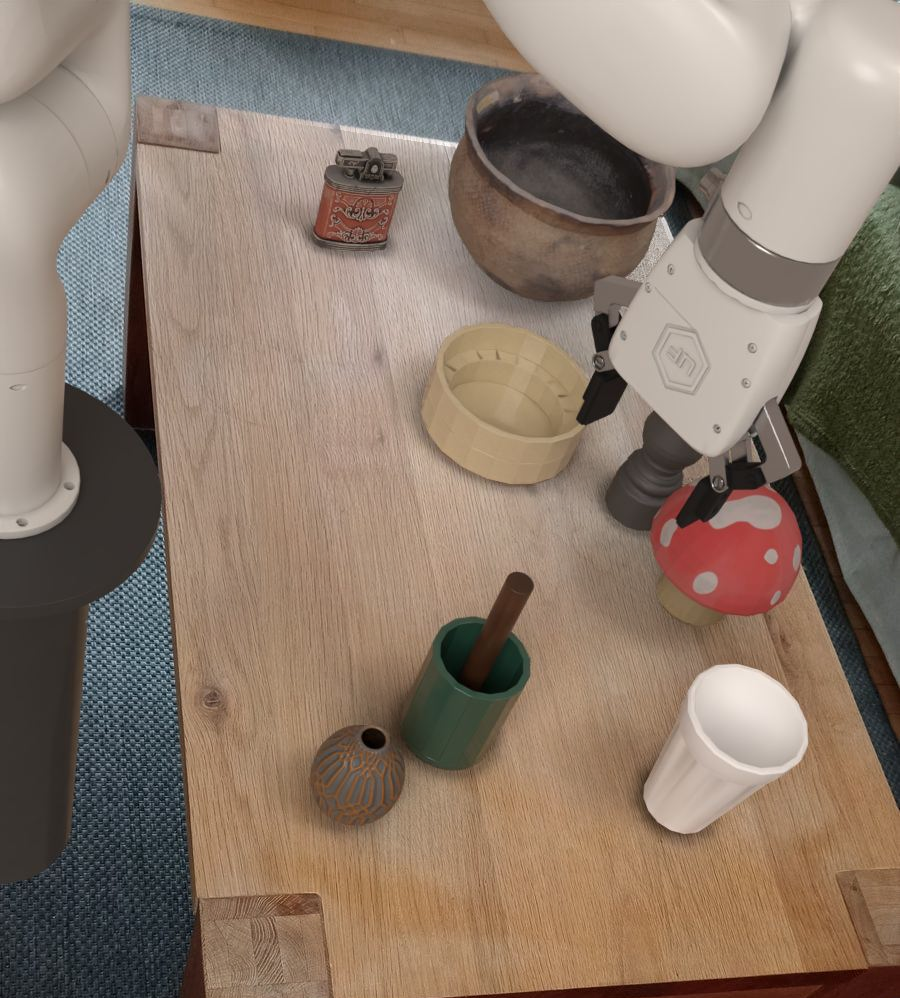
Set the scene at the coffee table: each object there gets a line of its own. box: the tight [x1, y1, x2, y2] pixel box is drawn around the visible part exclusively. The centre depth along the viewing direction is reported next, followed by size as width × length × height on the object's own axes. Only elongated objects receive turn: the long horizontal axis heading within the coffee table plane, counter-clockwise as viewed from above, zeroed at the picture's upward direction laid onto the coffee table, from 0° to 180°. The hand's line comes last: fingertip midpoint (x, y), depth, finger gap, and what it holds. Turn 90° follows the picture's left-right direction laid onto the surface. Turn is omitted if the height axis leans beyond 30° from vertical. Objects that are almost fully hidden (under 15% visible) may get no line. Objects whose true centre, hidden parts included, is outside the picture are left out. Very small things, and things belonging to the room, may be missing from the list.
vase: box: [309, 723, 406, 827], centre depth 96 cm, size 7×7×9 cm
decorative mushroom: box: [649, 474, 803, 627], centre depth 114 cm, size 13×13×15 cm
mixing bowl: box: [420, 322, 590, 485], centre depth 123 cm, size 15×15×6 cm
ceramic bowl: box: [447, 72, 676, 303], centre depth 133 cm, size 22×22×15 cm
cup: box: [642, 663, 809, 835], centre depth 103 cm, size 10×10×13 cm
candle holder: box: [604, 409, 704, 532], centre depth 115 cm, size 6×6×25 cm
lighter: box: [310, 146, 405, 253], centre depth 129 cm, size 8×3×10 cm, turn 108°
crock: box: [399, 615, 532, 771], centre depth 101 cm, size 8×8×10 cm
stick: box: [456, 571, 535, 692], centre depth 97 cm, size 2×2×18 cm
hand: (642, 467), depth 85 cm, fingers open, 9 cm apart
